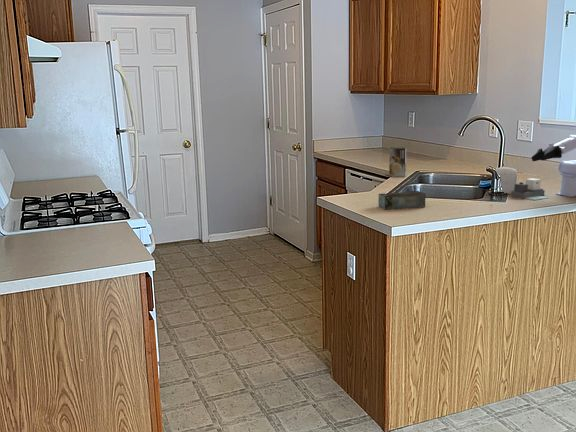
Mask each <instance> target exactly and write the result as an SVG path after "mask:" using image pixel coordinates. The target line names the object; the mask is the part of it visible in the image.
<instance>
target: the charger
mask: <svg viewBox="0 0 576 432" xmlns="http://www.w3.org/2000/svg"><path fill="white" fill-rule="evenodd" d="M541 181H542V179H540V178H534V177H533V178H532V177H531V178H530V177H529V178H526V179H525V184H528V189H530V190H538V189H540V188H541Z"/></svg>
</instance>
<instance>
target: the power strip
mask: <svg viewBox="0 0 576 432" xmlns="http://www.w3.org/2000/svg"><path fill="white" fill-rule="evenodd" d="M545 191H546V190H545V189H544V188H541V187H540V189H538V190H530V189H528V184H526V183H524V182H522V181H520V182H518V183H516V184H515V187H514V191H511V194H510V197H515V198H518V199H523V200H525V198H526V197H532V196H544V197H545Z"/></svg>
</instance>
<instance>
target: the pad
mask: <svg viewBox="0 0 576 432" xmlns="http://www.w3.org/2000/svg"><path fill="white" fill-rule="evenodd" d="M525 199H527V200H531V201H539V200H544V199H545V200H546V199H549V197H548V196H545V195H544V196H532V197H526V198H525ZM525 199H524V200H525Z"/></svg>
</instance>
